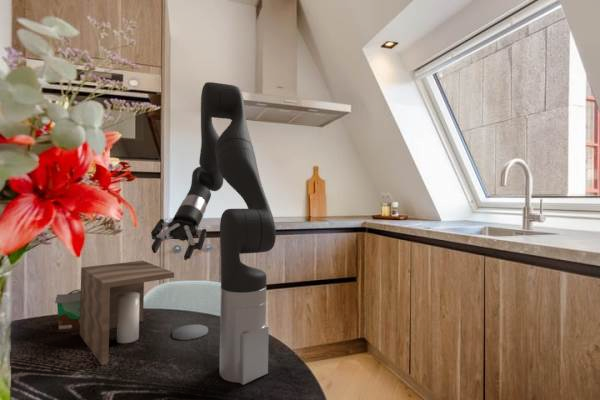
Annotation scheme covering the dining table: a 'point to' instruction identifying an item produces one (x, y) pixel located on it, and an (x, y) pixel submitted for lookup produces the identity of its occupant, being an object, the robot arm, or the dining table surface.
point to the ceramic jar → (128, 317)
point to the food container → (69, 311)
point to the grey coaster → (189, 332)
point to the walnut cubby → (111, 299)
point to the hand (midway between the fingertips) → (169, 255)
